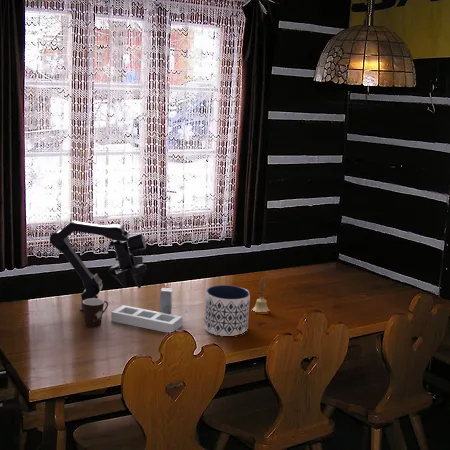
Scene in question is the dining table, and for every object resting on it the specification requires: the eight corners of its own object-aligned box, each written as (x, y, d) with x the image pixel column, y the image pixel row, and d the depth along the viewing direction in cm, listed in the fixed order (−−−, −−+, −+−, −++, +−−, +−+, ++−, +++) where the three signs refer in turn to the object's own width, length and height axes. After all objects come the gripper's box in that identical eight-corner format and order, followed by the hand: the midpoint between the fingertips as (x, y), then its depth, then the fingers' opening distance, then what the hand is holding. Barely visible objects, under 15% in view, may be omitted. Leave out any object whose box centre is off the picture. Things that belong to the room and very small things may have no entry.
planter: (232, 341, 277) (235, 302, 273) (195, 330, 286) (197, 292, 282) (255, 328, 292) (258, 291, 288) (219, 318, 301) (221, 282, 297)
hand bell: (268, 315, 308) (271, 281, 305) (250, 313, 310) (252, 279, 306) (271, 309, 316) (273, 276, 312) (253, 307, 318) (255, 274, 314)
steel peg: (159, 317, 298) (160, 290, 295) (161, 313, 302) (162, 287, 299) (170, 318, 298) (171, 291, 295) (171, 314, 302) (172, 288, 299)
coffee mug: (85, 329, 279) (86, 306, 277) (79, 322, 286) (80, 299, 284) (113, 326, 284) (114, 303, 282) (106, 319, 292) (107, 296, 290)
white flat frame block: (111, 321, 290) (111, 312, 289) (122, 313, 299) (123, 305, 298) (171, 333, 281) (172, 324, 280) (182, 325, 290) (182, 316, 289)
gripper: (151, 246, 295) (160, 281, 298) (122, 247, 307) (131, 280, 310) (132, 255, 287) (142, 290, 290) (103, 256, 299) (113, 290, 302)
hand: (132, 287), depth 298 cm, fingers open, 9 cm apart
